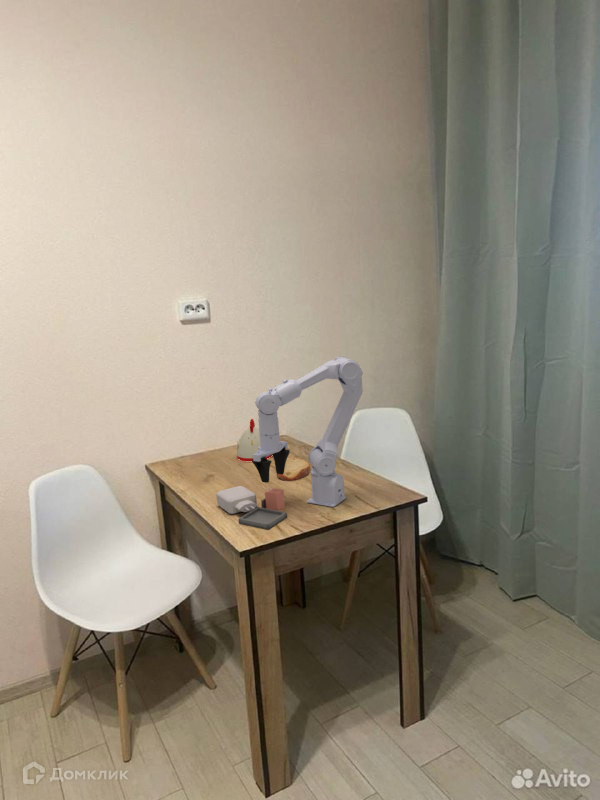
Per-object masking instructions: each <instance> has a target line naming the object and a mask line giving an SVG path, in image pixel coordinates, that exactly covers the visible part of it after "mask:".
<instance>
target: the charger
mask: <svg viewBox="0 0 600 800" xmlns="http://www.w3.org/2000/svg"><path fill="white" fill-rule="evenodd" d="M216 503H217V505H218V506H219V507H220V508H222V509H223V511H225V512H227V513H228V514H229V515H233V514H238V513H241V512H243V513H249V512H250V511H252V510H254V509H255V508H257V507H258V505H257V503H258V501H257V494H256V493H255V492H253V491H251V490H250V489H248V488H247V487H244V486H243V485H238V486H233V487H230V488H227V489H221V490H219V491H218V492H216Z"/></svg>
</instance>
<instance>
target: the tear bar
mask: <svg viewBox="0 0 600 800" xmlns="http://www.w3.org/2000/svg"><path fill="white" fill-rule="evenodd" d="M260 502H261V506H260V507H261V508H266V500H265V498H264V499H261V501H260Z"/></svg>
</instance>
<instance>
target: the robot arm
mask: <svg viewBox="0 0 600 800" xmlns="http://www.w3.org/2000/svg"><path fill="white" fill-rule="evenodd" d="M363 373H364V372H363V370H362V368H361V366H360V364H359V363H358V362H357V361H356V360H353V359H350V358H347V357H345V356H337V357H336V358H334V359H331V360H328V361H326V362H325V363H324V364H321V365H320V366H319V367H316V368H314V369H313V370H312V371H310V372H308V373H307V374H305V375H303V376H302V377H299V379H296V380H295V379H293V378H290V379H287V378H285V379H284V380H282V383H280V384H279V385H276V386H275V387H269V388H268V389H267V390H268V391H263V392H261V393H259V394H258V395H257V396H256V398H255V402H254V404H255V406H256V408H257V409H258V410H257V411H258V412H257V414H258V421H257V422H258V429H259V433H260V445H261V446H260V447H258V451H257V452H256V453H255V454H253V459H252V462H251V463H252V464H253V465H254V467H255V468H256V470H257V473H259V477H260V480H261V483H265V484H268V483H269V482H270V467H271V463H272V460H270V459H268V460H267V459H266V457H267V456H269V455H271V454H272V455H273V456H272V458H273V461H274V466H275V472H276V475H277V474H282V475H283V474H284V469H285V464H286V460H287V457H289V456H290V449H288V441H283V440H280V427H279V425H280V424H279V417H278V410H279V408H280V407H283V406H285V405H286V404H288V403H290V402H292V401H294V400H296V399H297V398H300V396H301V395H302V391H303V390H305V389H308V388H309V387H312V386H314V385H316V384H318V383H319V382H322V381H324V380H327V379H329V380H338V381H339V383H340V385H341V388H342V391H343V392H342V394H341V396H340V399H339V401H338V403H337V405H336V407H335V409H334V411H333V414H332V416H331V418H330V420H329V423H328V425H327V427H326V430H325V432H324V434H323V435H322V438H321V439H319V440H318V441H317V443H316V445H315V446H314V448H312V449H311V450H310V451H309V453H308V456H307V460H308V463H309V464H310V466H311V468H310V482H311V483H310V484H311V495H312V496H311V497H310V498H309V499H307V500H306V503H308V504H313V505H320V506H324V507H325V506H326V507H330V508H334V507H336V506H337V505H339V504H340V503H341V502H343V501H344V500H345V499H347V496H345V495H346V494H345V480H344V476H343V475H342V474H339V473H337V472H336V471H335V470H336V468H337V458H338V456H339V445H340V443H341V440H342V439H343V436H344V434H345V432H346V431H347V428H348V426H349V423H350V421H351V419H352V417H353V414H354V413H355V410H356V408H357V405H358V403H359V402H360V399H361V397H362V395H363V392H364V391H363Z"/></svg>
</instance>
